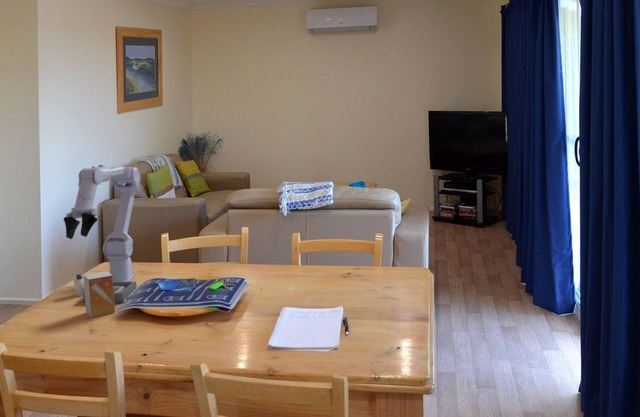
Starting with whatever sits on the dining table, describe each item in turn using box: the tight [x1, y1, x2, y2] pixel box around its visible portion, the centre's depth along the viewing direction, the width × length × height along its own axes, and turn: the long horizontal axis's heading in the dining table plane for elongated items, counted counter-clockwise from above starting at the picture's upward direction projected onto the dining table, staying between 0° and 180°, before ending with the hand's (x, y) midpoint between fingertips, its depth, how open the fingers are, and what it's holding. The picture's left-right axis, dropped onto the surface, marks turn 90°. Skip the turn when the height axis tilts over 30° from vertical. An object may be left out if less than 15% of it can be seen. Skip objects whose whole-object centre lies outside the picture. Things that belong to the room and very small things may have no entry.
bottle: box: [73, 273, 84, 298], centre depth 259 cm, size 4×4×8 cm
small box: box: [82, 271, 116, 318], centre depth 239 cm, size 8×6×13 cm
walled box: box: [82, 280, 138, 304], centre depth 257 cm, size 14×14×4 cm
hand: (76, 236), depth 246 cm, fingers open, 7 cm apart
